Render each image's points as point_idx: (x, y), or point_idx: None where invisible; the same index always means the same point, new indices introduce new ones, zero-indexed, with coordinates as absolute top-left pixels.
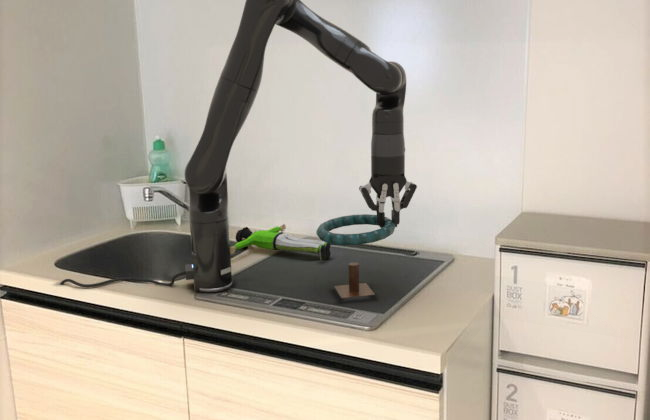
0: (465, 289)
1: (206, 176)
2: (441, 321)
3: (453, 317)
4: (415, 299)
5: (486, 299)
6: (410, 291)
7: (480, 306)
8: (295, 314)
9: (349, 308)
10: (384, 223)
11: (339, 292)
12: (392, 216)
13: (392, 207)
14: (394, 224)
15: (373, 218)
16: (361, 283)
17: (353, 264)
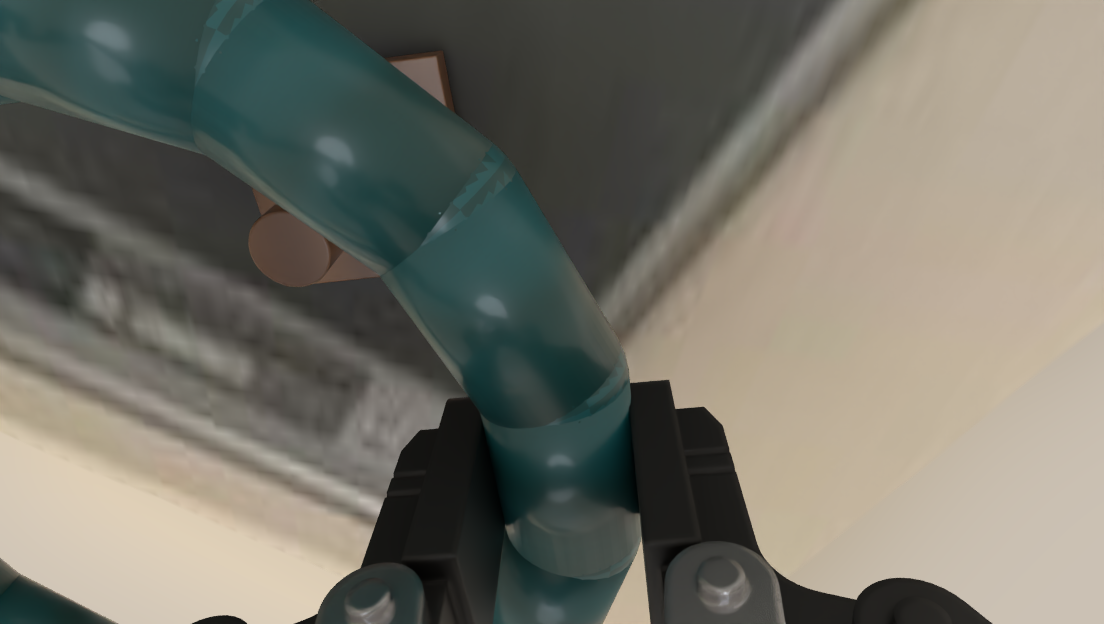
0: (1062, 182)
1: None
2: None
3: (798, 495)
4: (702, 286)
5: (1075, 341)
6: (714, 162)
7: (985, 413)
8: (89, 372)
9: (342, 345)
10: (501, 530)
11: (265, 205)
12: (639, 509)
13: (665, 600)
14: (622, 582)
15: (355, 257)
16: (403, 61)
17: (288, 264)
